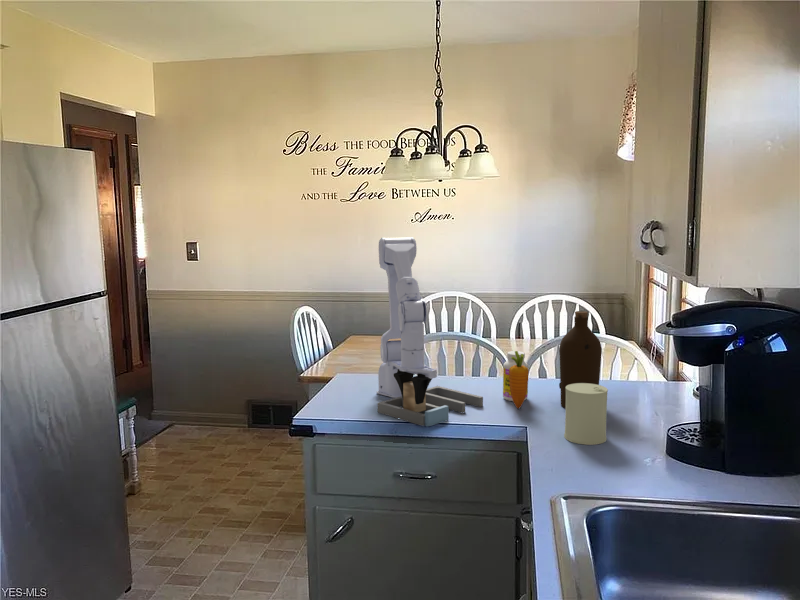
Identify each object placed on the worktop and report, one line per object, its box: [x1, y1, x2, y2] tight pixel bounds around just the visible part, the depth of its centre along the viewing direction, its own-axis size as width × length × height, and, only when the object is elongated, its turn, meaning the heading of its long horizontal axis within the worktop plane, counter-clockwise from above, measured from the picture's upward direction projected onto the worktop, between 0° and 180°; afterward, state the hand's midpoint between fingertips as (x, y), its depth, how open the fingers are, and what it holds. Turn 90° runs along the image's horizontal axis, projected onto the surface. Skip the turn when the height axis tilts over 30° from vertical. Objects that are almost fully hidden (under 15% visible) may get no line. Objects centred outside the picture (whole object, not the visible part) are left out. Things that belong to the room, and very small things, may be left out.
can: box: [563, 383, 609, 446], centre depth 147 cm, size 9×9×12 cm
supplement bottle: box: [502, 350, 529, 402], centre depth 179 cm, size 7×7×13 cm
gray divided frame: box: [377, 385, 484, 427], centre depth 171 cm, size 17×23×4 cm
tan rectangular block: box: [403, 381, 426, 413], centre depth 166 cm, size 4×4×7 cm
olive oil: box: [558, 310, 603, 409], centre depth 171 cm, size 11×11×25 cm
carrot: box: [509, 350, 530, 410], centre depth 170 cm, size 5×5×15 cm
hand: (413, 401), depth 165 cm, fingers closed on tan rectangular block, 4 cm apart
